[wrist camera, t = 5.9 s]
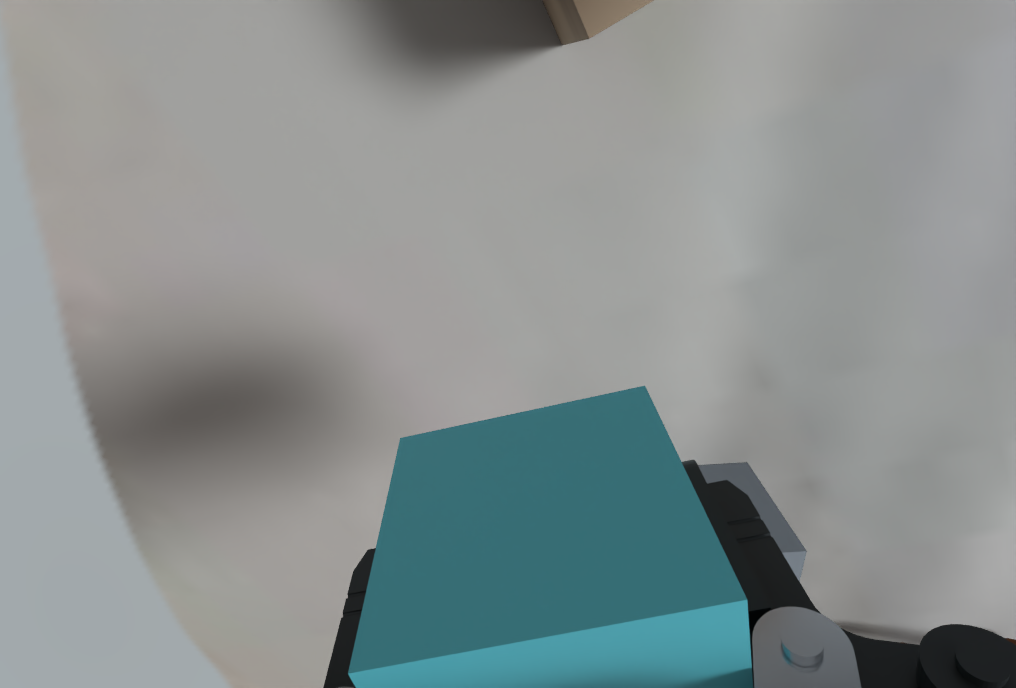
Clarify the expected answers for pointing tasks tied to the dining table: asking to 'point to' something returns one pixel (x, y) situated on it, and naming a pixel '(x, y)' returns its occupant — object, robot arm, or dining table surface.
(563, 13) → the walnut block
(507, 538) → the teal block
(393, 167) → the dining table surface
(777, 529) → the slate gray block
